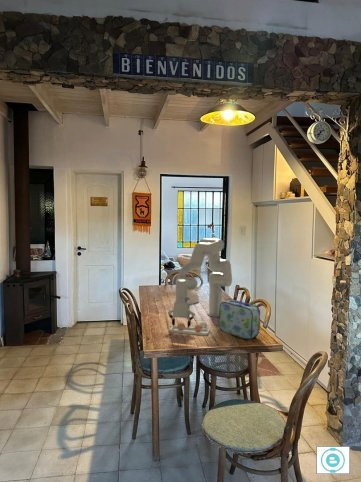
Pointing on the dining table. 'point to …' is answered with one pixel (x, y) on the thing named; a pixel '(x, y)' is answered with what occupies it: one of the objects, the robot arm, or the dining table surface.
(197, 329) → the terracotta ball
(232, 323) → the lunch box
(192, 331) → the grey channel
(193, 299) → the kettle
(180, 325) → the terracotta ball
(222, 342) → the dining table surface
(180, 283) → the robot arm
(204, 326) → the ball cream
